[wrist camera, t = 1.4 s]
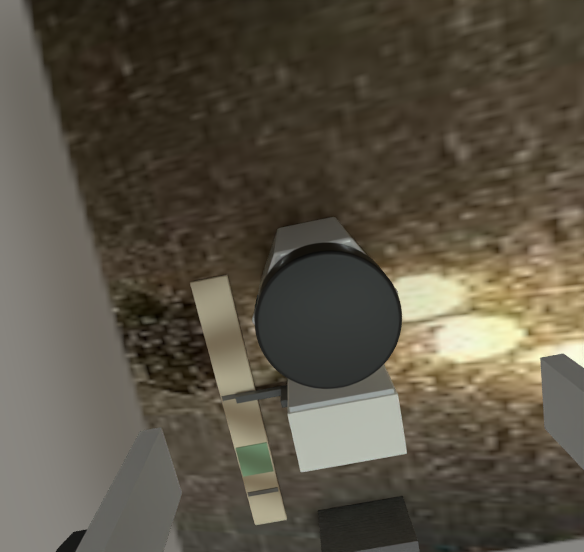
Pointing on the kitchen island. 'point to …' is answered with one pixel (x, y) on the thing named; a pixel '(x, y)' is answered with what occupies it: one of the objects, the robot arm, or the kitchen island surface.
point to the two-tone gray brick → (368, 528)
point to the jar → (325, 307)
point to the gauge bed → (234, 380)
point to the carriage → (341, 421)
